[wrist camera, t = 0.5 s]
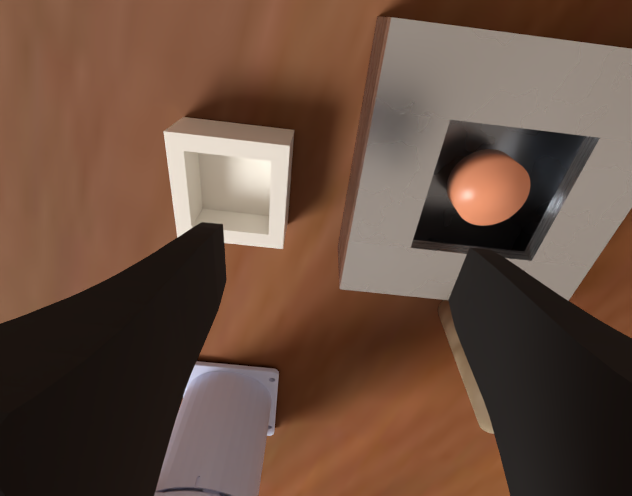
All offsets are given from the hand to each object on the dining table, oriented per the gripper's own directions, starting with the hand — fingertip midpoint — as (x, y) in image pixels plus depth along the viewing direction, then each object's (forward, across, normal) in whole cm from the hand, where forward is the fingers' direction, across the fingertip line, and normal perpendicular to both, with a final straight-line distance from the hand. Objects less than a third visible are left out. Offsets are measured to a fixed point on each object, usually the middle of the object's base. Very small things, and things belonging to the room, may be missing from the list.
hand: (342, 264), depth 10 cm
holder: (+10, +5, +2) cm, 11 cm away
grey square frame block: (+10, -7, 0) cm, 12 cm away
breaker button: (+8, -7, 0) cm, 10 cm away
